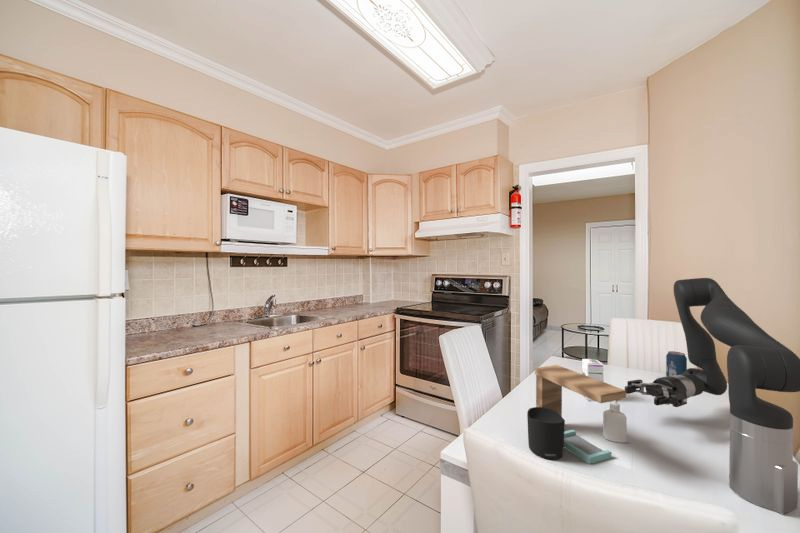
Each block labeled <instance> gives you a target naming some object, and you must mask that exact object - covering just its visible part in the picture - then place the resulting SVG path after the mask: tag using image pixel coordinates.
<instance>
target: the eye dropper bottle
mask: <svg viewBox="0 0 800 533" xmlns="http://www.w3.org/2000/svg"><path fill="white" fill-rule="evenodd" d="M602 413H603V414H602V416H603V417H602V435H603V437H604V438H603V439H605V440H607V441H610V442H613V443H619V444H620V443H623V444H624V443H627V441H628V439H627V437H628V433H627V432H628V431H627V428H628V427H627V425H628V424H627V423H628V422H627V416H626V414H625V413H624V412H622V411H621V404H620V403H618V400H615V401H610V402H609V409H605V410H604V411H603V412H602Z"/></svg>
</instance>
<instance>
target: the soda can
mask: <svg viewBox="0 0 800 533" xmlns="http://www.w3.org/2000/svg"><path fill="white" fill-rule="evenodd" d="M665 358H666V360H665V362H666V363H665V364H666V365H665V369H666V370H665V377H666V376H671V375H680V374H683V373H684V372H685V371H686V370H687V369H688V368H687V367H688V365H687V364H688V357H687V356H686V354H685V353H683V352H680V351H671V350H669V351H668V352H667V354H666V356H665Z"/></svg>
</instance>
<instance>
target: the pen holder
mask: <svg viewBox="0 0 800 533" xmlns="http://www.w3.org/2000/svg"><path fill="white" fill-rule="evenodd" d="M526 416H527V437H528V439H527V440H528V448H529V450H530V451H531V452H532V453H533V454H534V455H536V456H538V457H540V458H543V459H544V460H545V459H546V460H551V461H552V460H553V461H554V460H558V459H560V458H561V457H563V454H564V432H565V425H566V424H565V422H566V421H565V420H566V419H564V418H563V416H562V417H561V415H560V414H559V413H558V412H556V411H555V410H552V409H549V408H544V407H536V406H534V407H530V408H528V410H527V415H526Z"/></svg>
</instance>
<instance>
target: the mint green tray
mask: <svg viewBox="0 0 800 533" xmlns="http://www.w3.org/2000/svg"><path fill="white" fill-rule="evenodd" d="M563 449H566V450H568V451H569V452H571V453H572V454H573V455H575V456H576V457H578V458H579V459H581V460H582V461H584V462H586V463H587V464H588V465H591V464H594V463H598V462H601V461H604V460H609V459H611V458H613V457H612V454H613V452H612V451H611V450H610V449H606V450H603V449H602V448H599V447H598V446H596V445H594V443H593V444H592V443H591V442H590V441H587V440H586V439H584V438H583V437H580V436H579V435H577V430H575V429H569V430H564V447H563Z"/></svg>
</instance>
